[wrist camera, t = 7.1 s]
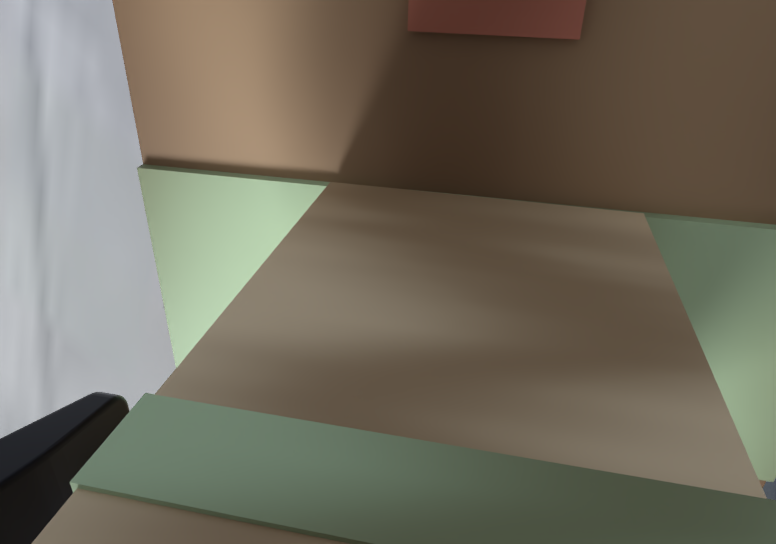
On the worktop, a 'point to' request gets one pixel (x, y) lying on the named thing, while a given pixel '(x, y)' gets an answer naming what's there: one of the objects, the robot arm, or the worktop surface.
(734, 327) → the open box
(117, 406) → the robot arm
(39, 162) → the worktop surface
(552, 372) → the tan green-striped carton
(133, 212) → the worktop surface
